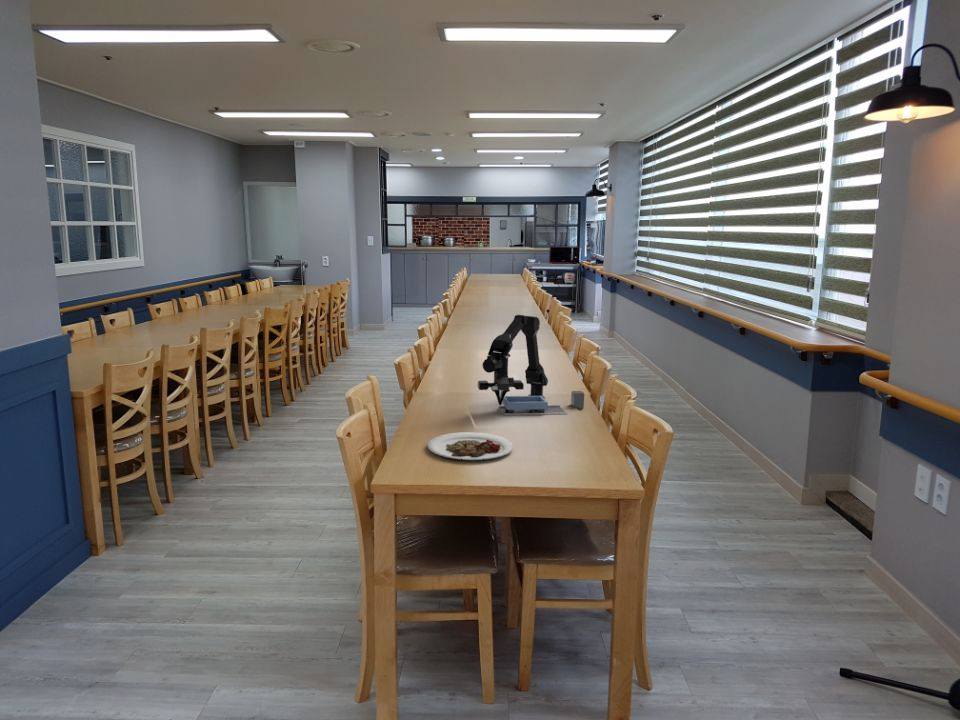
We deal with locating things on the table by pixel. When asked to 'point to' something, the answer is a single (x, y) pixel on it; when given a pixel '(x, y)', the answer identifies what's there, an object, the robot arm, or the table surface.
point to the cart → (525, 403)
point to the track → (535, 411)
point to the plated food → (470, 446)
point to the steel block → (577, 399)
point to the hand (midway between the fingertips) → (499, 405)
